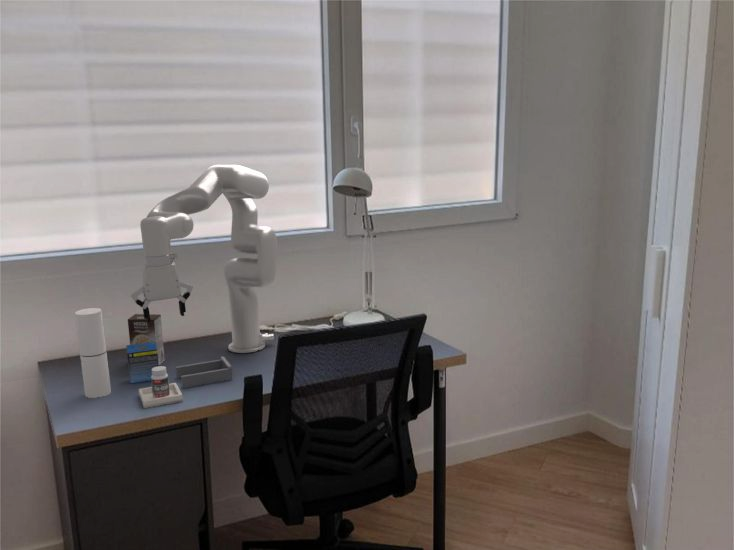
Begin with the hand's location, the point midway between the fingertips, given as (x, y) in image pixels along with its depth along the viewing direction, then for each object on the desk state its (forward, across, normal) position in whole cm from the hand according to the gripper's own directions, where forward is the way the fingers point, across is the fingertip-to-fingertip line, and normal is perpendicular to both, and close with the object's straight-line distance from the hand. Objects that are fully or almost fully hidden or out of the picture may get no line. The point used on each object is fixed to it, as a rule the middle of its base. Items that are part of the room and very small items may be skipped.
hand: (165, 317), depth 207 cm
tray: (+21, +5, +7) cm, 23 cm away
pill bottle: (+21, +5, +7) cm, 23 cm away
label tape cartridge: (+22, +7, -11) cm, 25 cm away
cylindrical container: (+22, +21, -6) cm, 31 cm away
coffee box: (+22, +4, -26) cm, 34 cm away
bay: (+22, -10, -3) cm, 24 cm away
